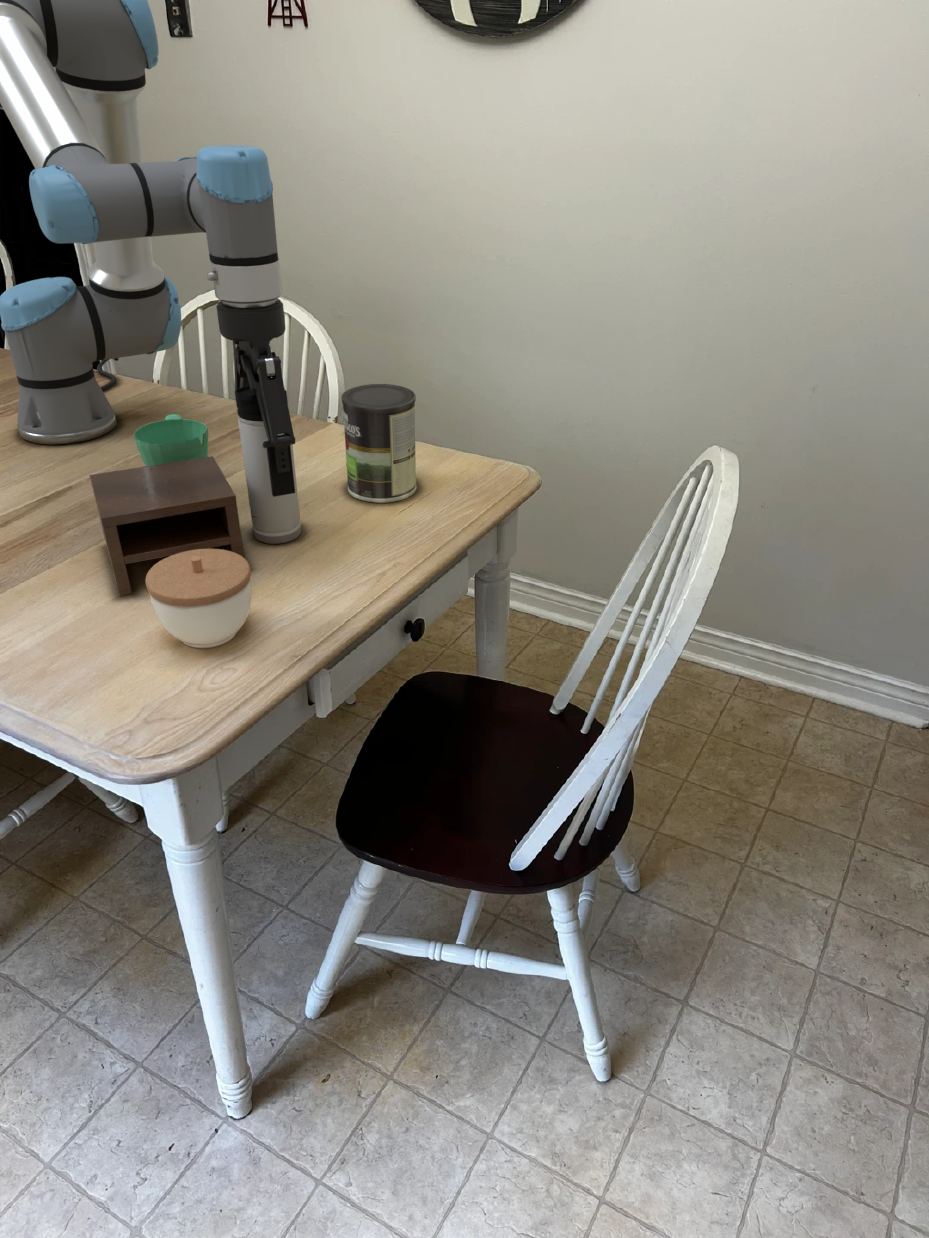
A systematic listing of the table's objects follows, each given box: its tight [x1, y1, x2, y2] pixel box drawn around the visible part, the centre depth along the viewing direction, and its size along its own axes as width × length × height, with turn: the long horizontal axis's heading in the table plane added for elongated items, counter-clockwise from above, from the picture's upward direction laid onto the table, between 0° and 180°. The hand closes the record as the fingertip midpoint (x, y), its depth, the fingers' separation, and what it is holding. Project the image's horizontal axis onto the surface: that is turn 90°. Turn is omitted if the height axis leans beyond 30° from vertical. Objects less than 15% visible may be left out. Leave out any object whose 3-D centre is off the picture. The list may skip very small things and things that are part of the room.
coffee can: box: [341, 383, 418, 504], centre depth 125 cm, size 10×10×14 cm
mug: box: [133, 413, 209, 467], centre depth 124 cm, size 15×10×10 cm
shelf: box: [89, 455, 246, 597], centre depth 107 cm, size 13×15×10 cm
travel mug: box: [234, 386, 302, 545], centre depth 111 cm, size 6×7×20 cm
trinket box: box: [144, 548, 253, 649], centre depth 94 cm, size 11×11×9 cm
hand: (270, 474), depth 111 cm, fingers open, 12 cm apart
